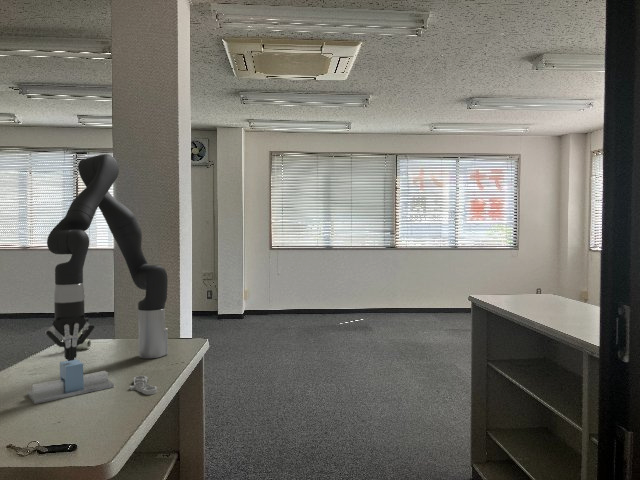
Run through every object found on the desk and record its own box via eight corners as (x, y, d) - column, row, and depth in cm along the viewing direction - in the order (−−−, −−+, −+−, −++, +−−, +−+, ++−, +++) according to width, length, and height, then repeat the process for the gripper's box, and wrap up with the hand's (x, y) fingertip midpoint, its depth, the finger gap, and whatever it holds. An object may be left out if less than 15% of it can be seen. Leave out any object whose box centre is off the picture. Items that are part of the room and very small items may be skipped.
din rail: (103, 379, 143) (103, 367, 143) (113, 387, 136) (113, 375, 136) (27, 394, 130) (27, 382, 130) (34, 404, 123) (34, 391, 123)
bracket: (158, 373, 144) (156, 388, 129) (158, 380, 144) (156, 395, 129) (132, 376, 141) (127, 391, 127) (132, 382, 141) (127, 398, 127)
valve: (84, 351, 178) (83, 320, 178) (67, 351, 178) (66, 320, 178) (93, 347, 184) (92, 317, 184) (76, 347, 184) (76, 317, 184)
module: (77, 382, 137) (76, 359, 137) (83, 388, 132) (83, 363, 132) (60, 386, 134) (59, 362, 134) (66, 391, 129) (65, 366, 129)
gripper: (90, 296, 140) (91, 353, 140) (40, 300, 131) (41, 361, 131) (98, 298, 134) (99, 358, 134) (45, 303, 125) (46, 367, 126)
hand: (70, 360), depth 133 cm, fingers closed
